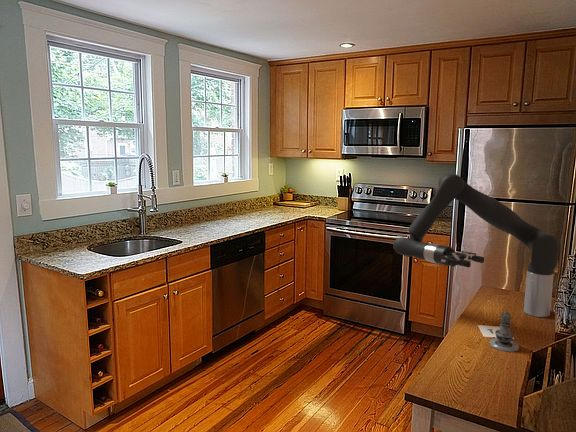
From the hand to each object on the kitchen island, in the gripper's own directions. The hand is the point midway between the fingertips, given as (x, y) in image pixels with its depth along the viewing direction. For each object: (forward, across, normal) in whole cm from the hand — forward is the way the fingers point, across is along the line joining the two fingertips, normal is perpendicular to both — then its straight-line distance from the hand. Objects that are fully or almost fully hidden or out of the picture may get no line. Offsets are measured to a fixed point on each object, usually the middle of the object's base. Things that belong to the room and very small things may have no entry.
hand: (477, 262), depth 157 cm
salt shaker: (+13, -4, +25) cm, 29 cm away
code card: (+6, +4, +26) cm, 27 cm away
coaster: (+13, -4, +26) cm, 29 cm away
